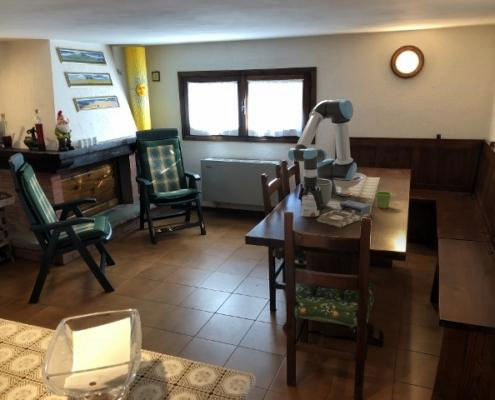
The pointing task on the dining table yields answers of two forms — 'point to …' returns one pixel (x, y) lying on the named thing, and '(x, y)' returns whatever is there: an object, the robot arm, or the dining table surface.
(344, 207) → the block
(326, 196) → the planter
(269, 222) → the dining table surface
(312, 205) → the ink box
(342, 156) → the robot arm
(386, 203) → the plant pot
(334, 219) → the cradle
